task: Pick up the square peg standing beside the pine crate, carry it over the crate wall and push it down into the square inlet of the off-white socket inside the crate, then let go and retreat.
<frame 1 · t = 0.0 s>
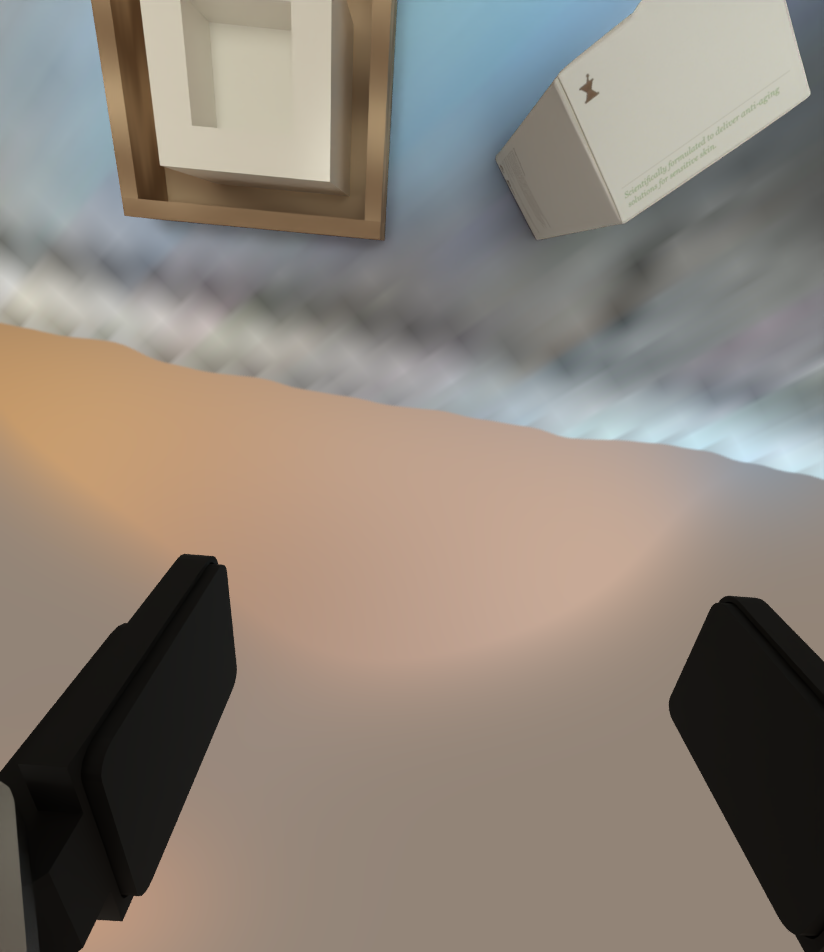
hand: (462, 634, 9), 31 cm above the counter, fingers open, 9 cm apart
crate: (267, 71, 30), on the counter
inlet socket: (281, 109, 31), resting on crate
skincare box: (566, 158, 32), on the counter
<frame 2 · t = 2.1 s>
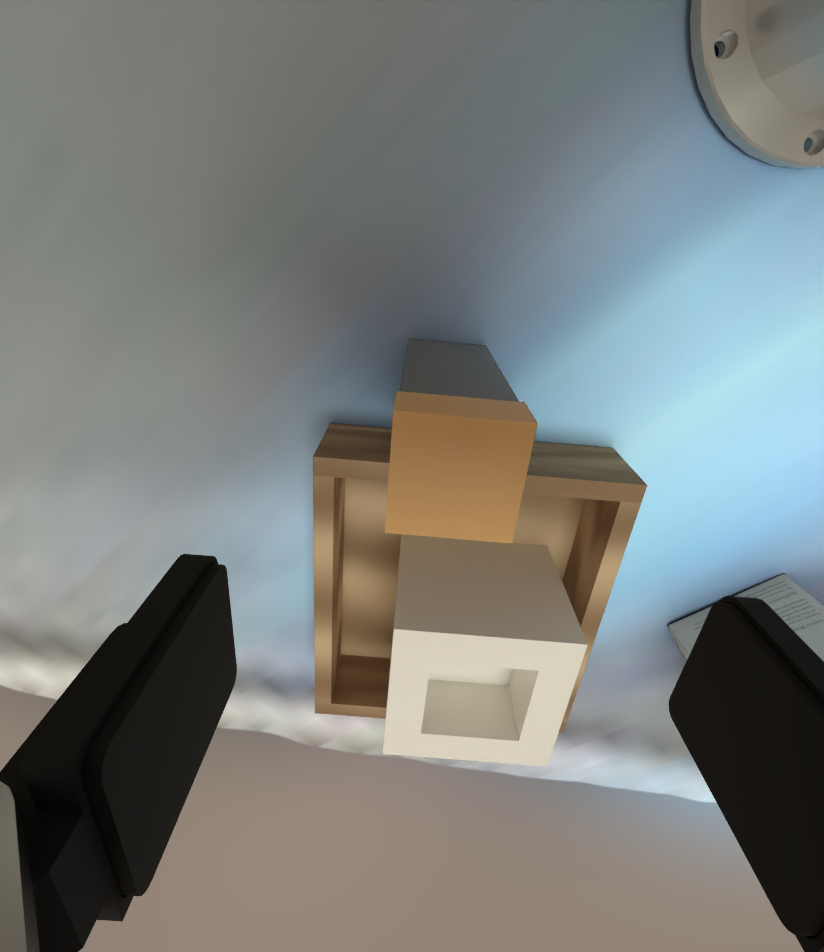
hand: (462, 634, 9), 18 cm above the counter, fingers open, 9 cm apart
crate: (452, 565, 31), on the counter
square peg: (442, 380, 25), on the counter
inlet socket: (464, 597, 31), resting on crate
skincare box: (737, 622, 33), on the counter
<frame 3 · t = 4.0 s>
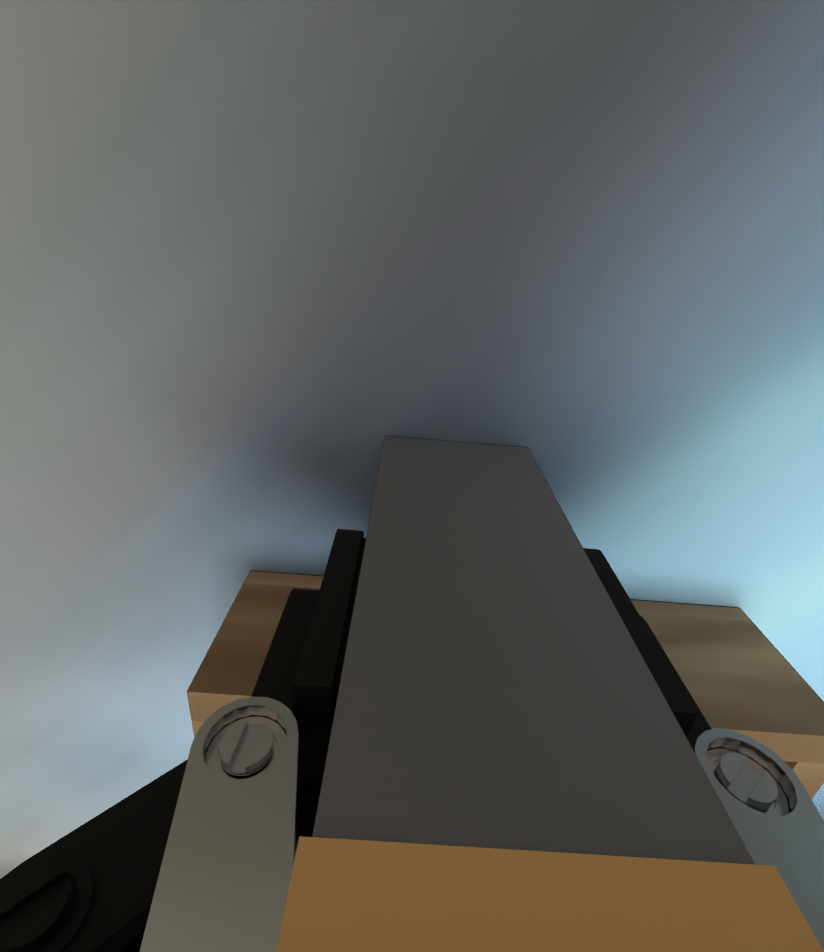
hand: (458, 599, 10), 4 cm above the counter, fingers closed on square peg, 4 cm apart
crate: (462, 766, 19), on the counter
square peg: (448, 504, 14), on the counter, touching gripper
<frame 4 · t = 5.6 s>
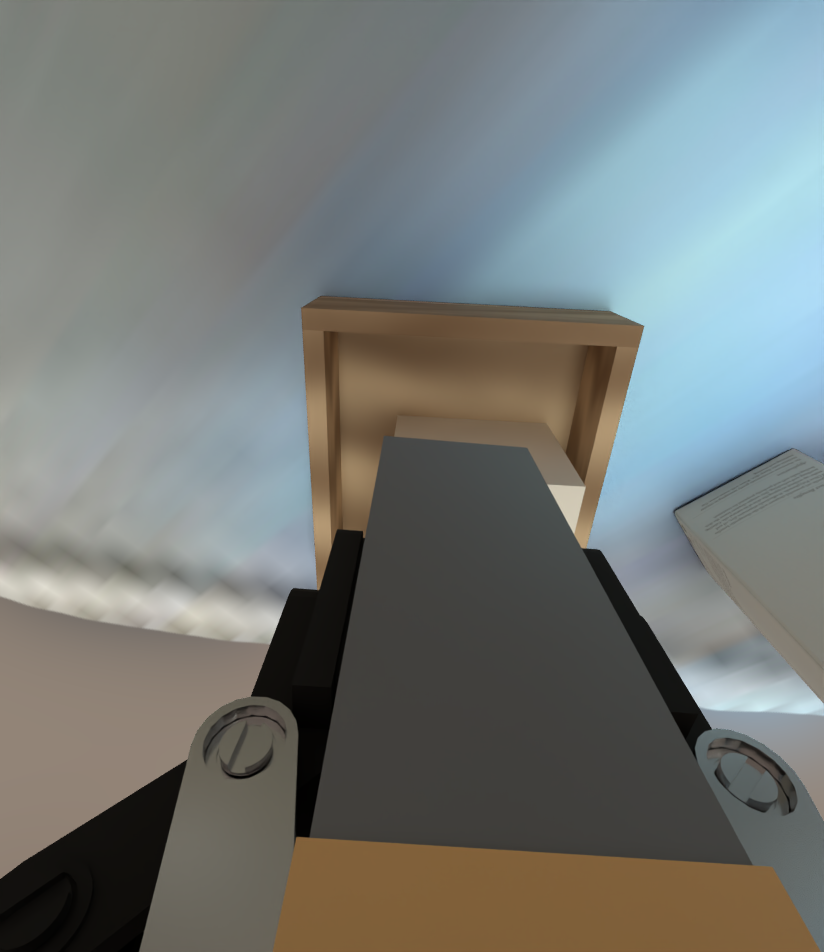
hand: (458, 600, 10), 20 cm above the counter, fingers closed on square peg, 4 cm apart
crate: (451, 452, 30), on the counter
square peg: (447, 504, 14), point 16 cm above the counter, touching gripper
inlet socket: (464, 484, 31), resting on crate
skincare box: (746, 507, 32), on the counter
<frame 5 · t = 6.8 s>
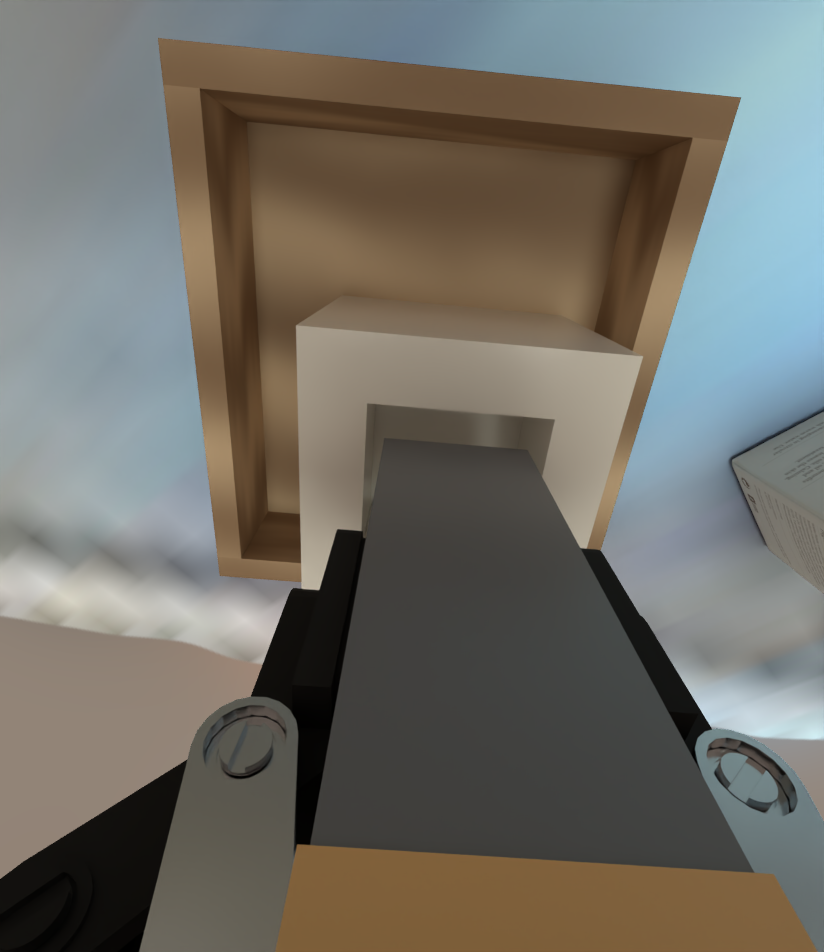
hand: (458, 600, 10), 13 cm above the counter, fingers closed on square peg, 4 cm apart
crate: (422, 361, 21), on the counter
square peg: (447, 506, 14), point 9 cm above the counter, touching gripper
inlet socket: (440, 410, 21), resting on crate
when the fingers open (11 cm above the counter, at t = 7.5 s): square peg drops 1 cm, resting on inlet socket.
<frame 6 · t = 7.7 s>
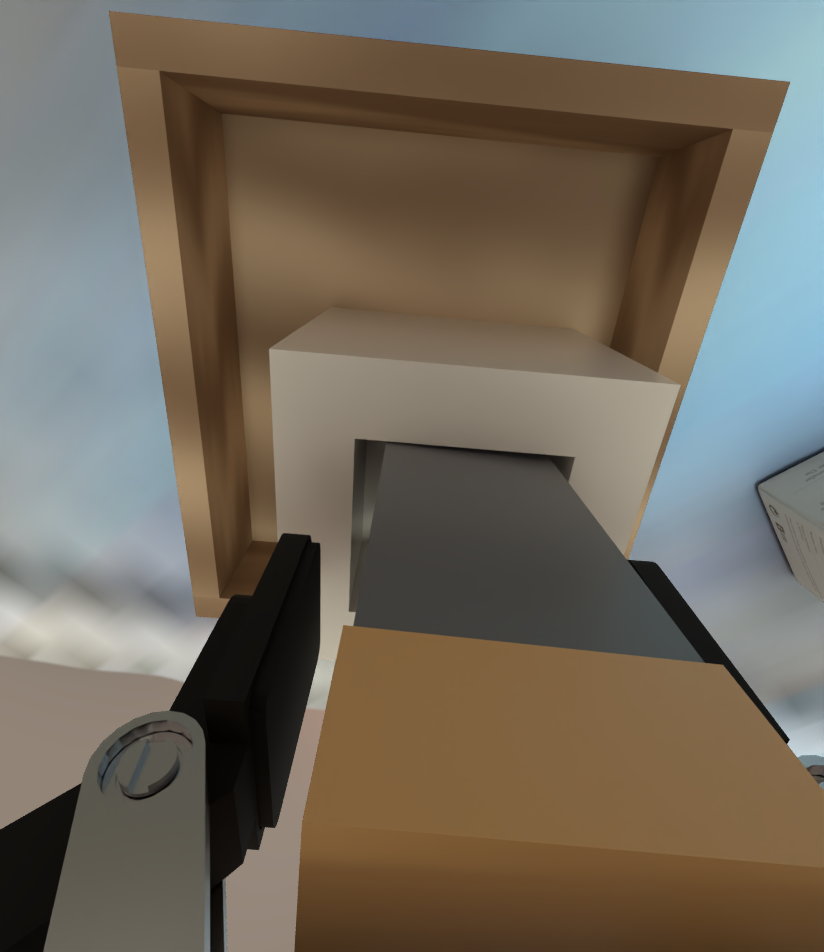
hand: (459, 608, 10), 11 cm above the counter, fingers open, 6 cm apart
crate: (419, 378, 19), on the counter
square peg: (447, 474, 15), point 5 cm above the counter, touching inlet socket
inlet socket: (439, 432, 19), resting on crate
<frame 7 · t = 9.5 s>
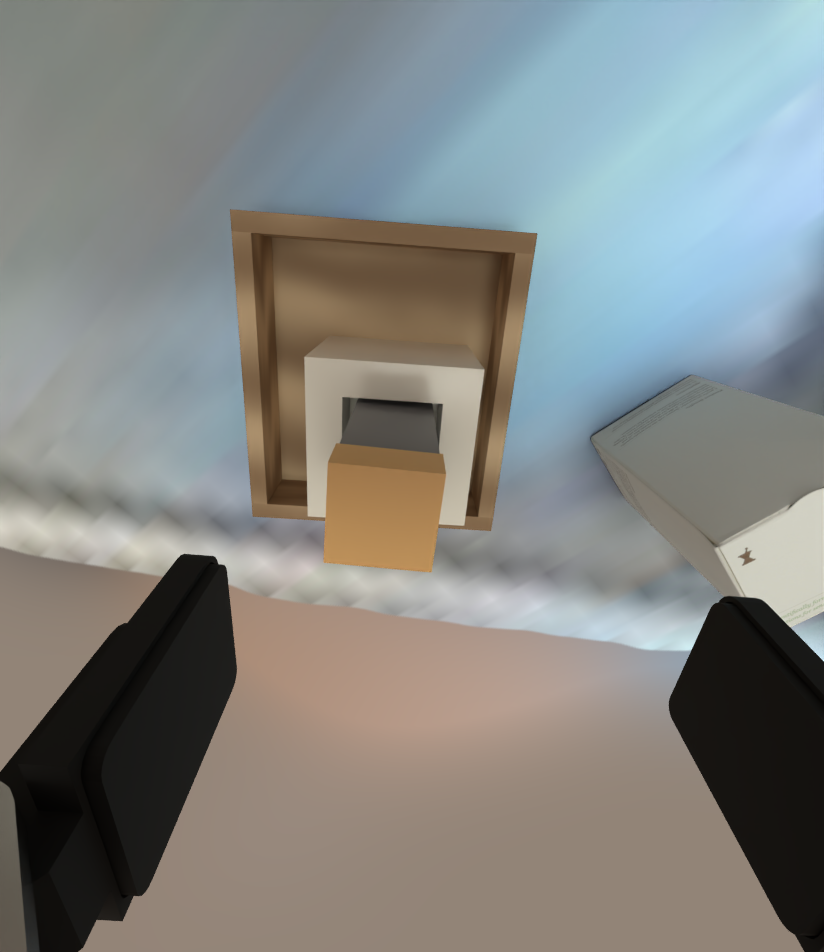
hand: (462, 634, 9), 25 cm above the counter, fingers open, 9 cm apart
crate: (382, 375, 33), on the counter
square peg: (393, 423, 29), point 5 cm above the counter, touching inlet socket
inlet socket: (395, 407, 33), resting on crate
skincare box: (656, 435, 35), on the counter
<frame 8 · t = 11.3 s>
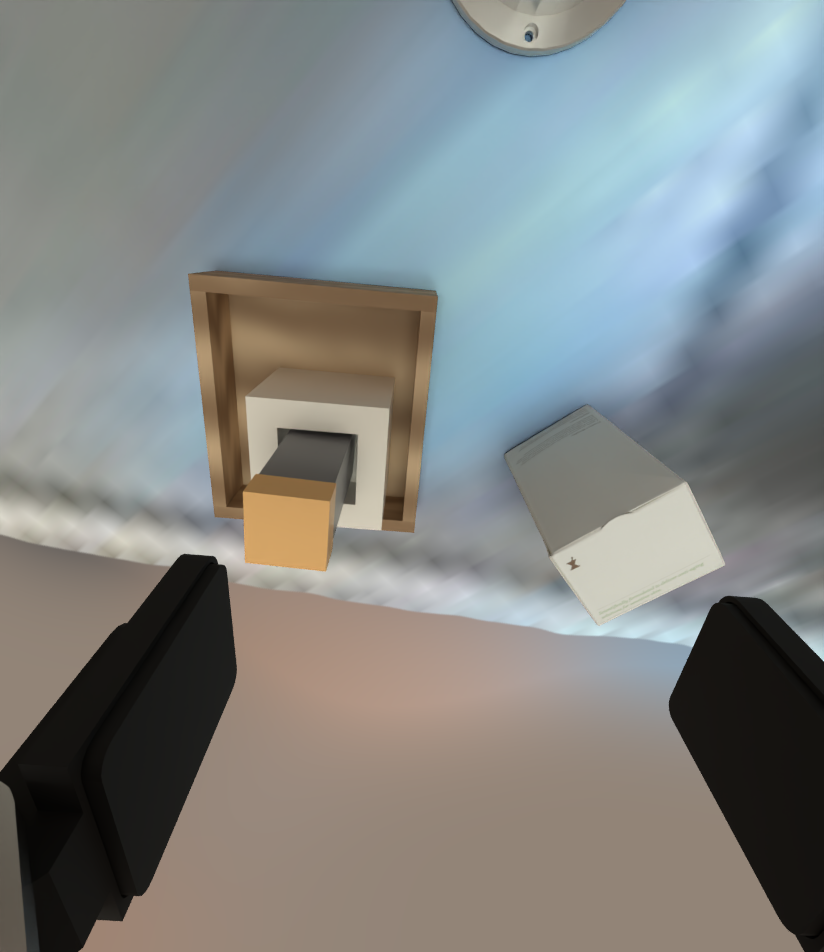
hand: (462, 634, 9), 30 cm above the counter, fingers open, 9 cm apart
crate: (325, 400, 39), on the counter
square peg: (327, 444, 35), point 5 cm above the counter, touching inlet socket
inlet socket: (336, 427, 39), resting on crate
skincare box: (560, 453, 41), on the counter
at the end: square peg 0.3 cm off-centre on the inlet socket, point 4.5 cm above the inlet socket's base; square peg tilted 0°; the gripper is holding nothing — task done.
